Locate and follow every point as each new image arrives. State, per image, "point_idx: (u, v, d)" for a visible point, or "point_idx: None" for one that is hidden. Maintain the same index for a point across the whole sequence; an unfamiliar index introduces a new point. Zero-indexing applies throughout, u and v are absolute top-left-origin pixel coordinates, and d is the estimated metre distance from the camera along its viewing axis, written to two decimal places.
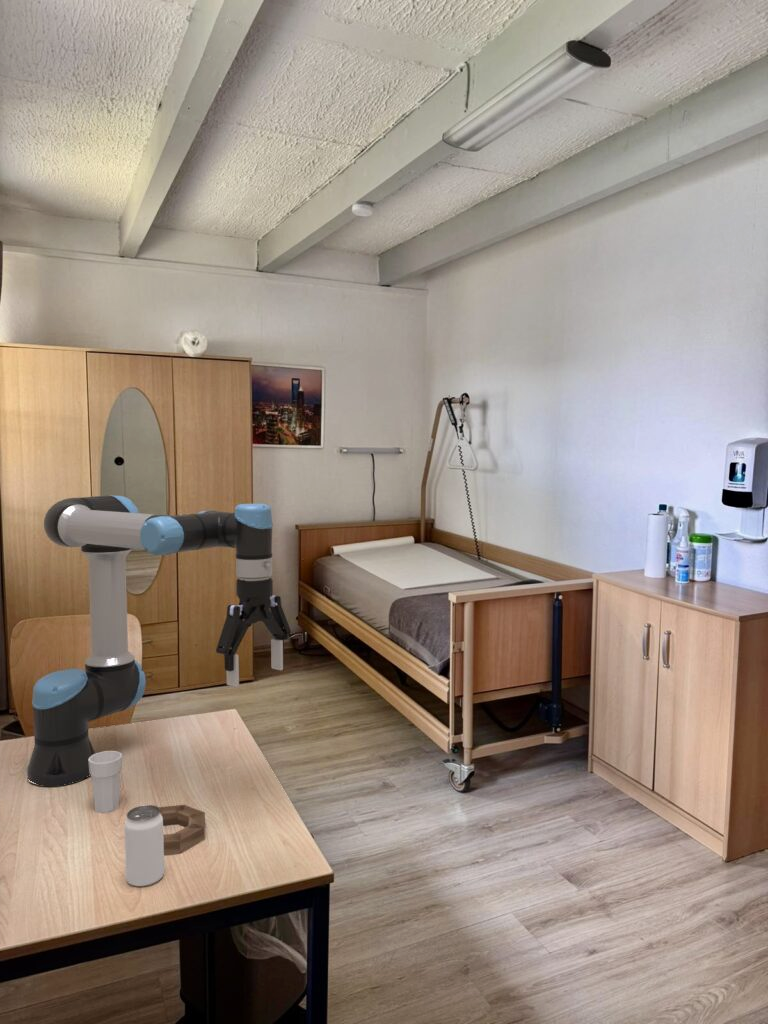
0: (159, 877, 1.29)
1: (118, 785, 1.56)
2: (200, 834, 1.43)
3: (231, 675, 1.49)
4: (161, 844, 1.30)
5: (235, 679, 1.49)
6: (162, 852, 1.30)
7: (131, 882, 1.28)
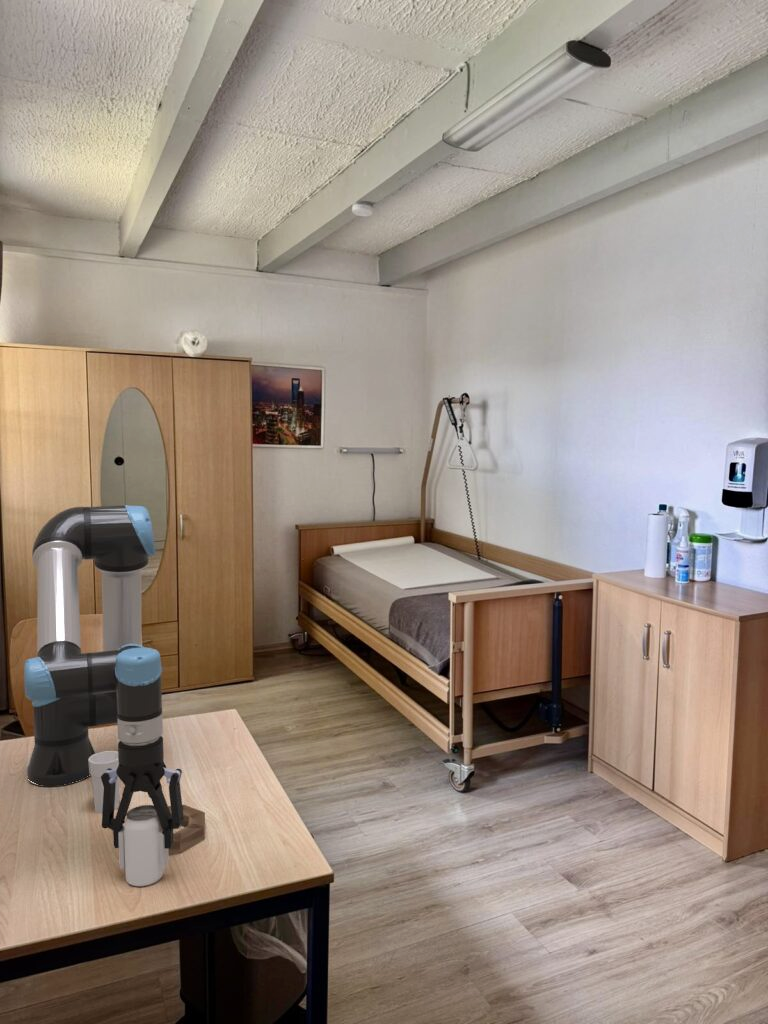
0: (158, 877, 1.29)
1: (118, 785, 1.56)
2: (200, 834, 1.43)
3: None
4: None
5: None
6: None
7: (130, 882, 1.28)
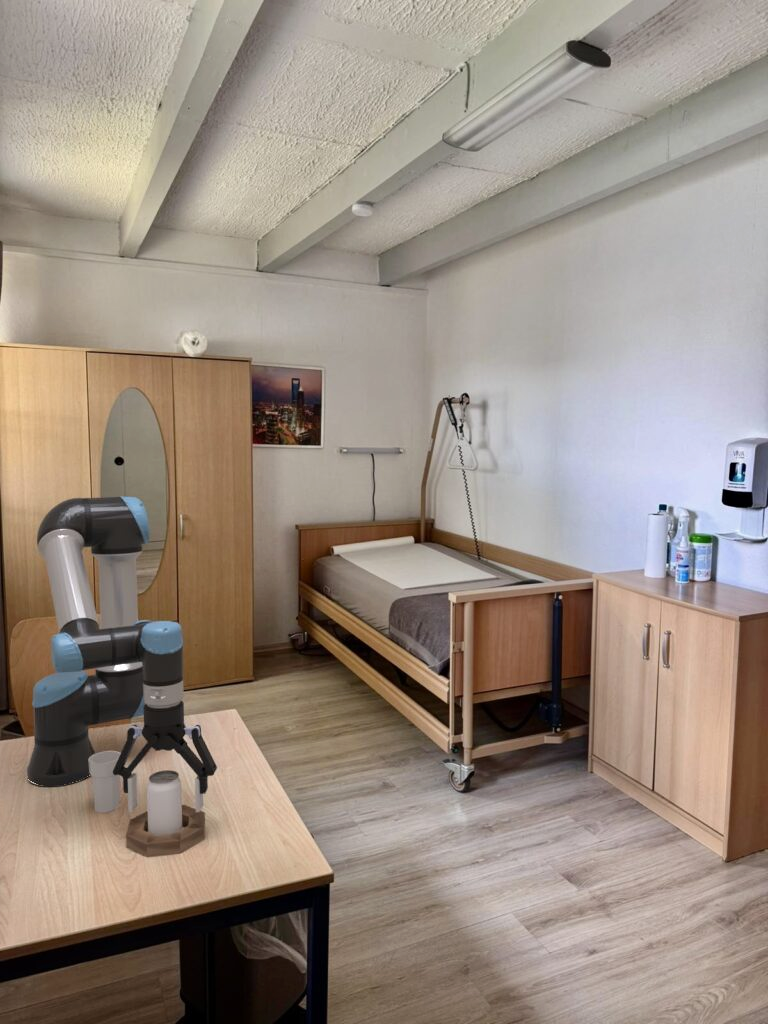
0: None
1: (118, 785, 1.56)
2: (200, 834, 1.43)
3: None
4: (179, 804, 1.44)
5: None
6: (180, 812, 1.45)
7: None
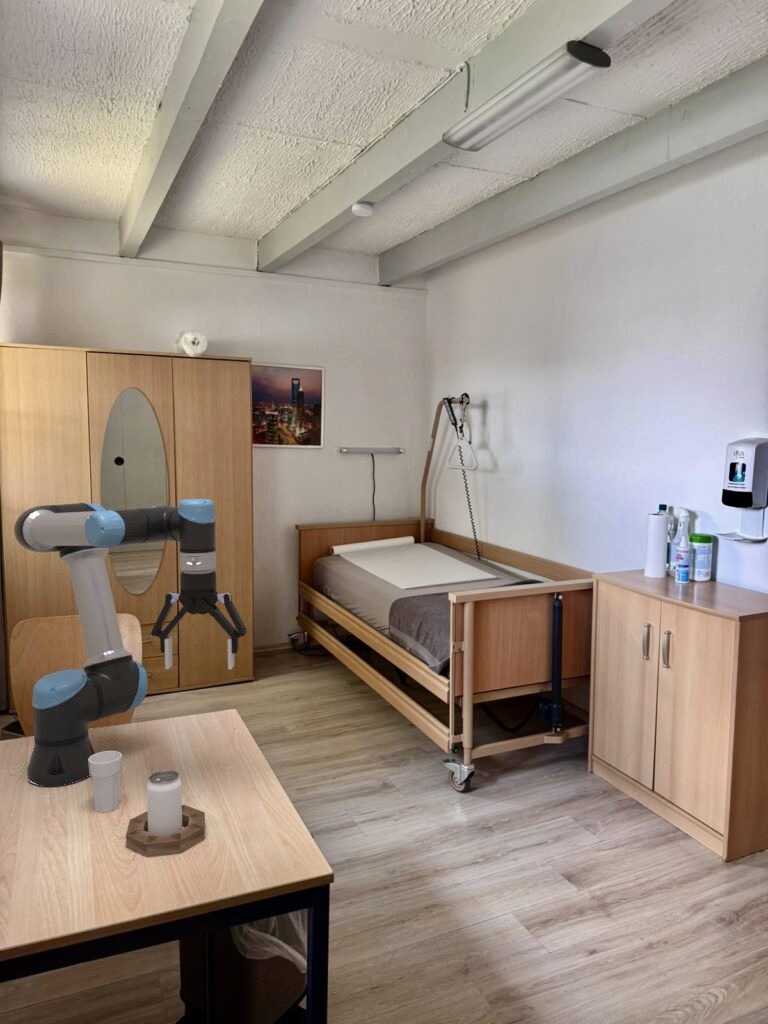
0: None
1: (118, 785, 1.56)
2: (200, 834, 1.43)
3: None
4: (179, 804, 1.44)
5: (165, 662, 1.59)
6: (180, 812, 1.45)
7: None
